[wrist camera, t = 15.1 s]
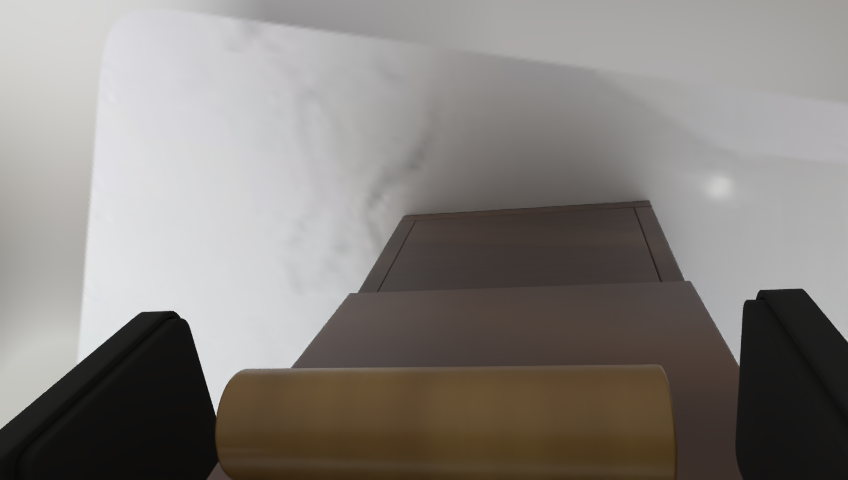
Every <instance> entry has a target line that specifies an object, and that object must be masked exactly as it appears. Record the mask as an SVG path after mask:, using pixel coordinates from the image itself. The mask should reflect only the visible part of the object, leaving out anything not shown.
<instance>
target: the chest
mask: <svg viewBox="0 0 848 480" xmlns="http://www.w3.org/2000/svg"><path fill="white" fill-rule="evenodd" d="M675 281H685V280H684V278H683V276H682V273H681V271H680V269H679V267H678V264H677V262H676V260H675V258H674V255H673V253H672V251H671V249H670V247H669V244H668V242H667V240H666V238H665V235H664V233H663V231H662V229H661V226H660V224H659V222H658V220H657V217H656V215H655V213H654V211H653V208H652V205H651V203H650V201H637V202H621V203H605V204H589V205H573V206H556V207H540V208H524V209H508V210H492V211H476V212H460V213H444V214H428V215H412V216H403V218H402V219H401V221H400V223H399V224H398V226H397V228H396V229H395V231H394V233H393V234H392V236H391V238H390V239H389V241H388V243H387V245H386V246H385V248H384V250H383V251H382V253H381V255H380V256H379V258H378V260H377V261H376V263H375V265H374V266H373V268H372V270H371V271H370V273H369V275H368V276H367V278H366V280H365V281H364V283H363V285H362V286H361V288H360V290H359V292H358V293H375V292H402V291H429V290H457V289H484V288H511V287H539V286H566V285H593V284H621V283H648V282H675Z"/></svg>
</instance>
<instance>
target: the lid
mask: <svg viewBox="0 0 848 480" xmlns="http://www.w3.org/2000/svg"><path fill="white" fill-rule="evenodd" d="M739 370H740V367H739V365H738V363H737V362H736V360H735V358H734V356H733V355H732V353H731V351H730V349H729V348H728V346H727V344H726V342H725V341H724V339H723V337H722V335H721V334H720V332H719V330H718V328H717V327H716V325H715V323H714V321H713V320H712V318H711V316H710V314H709V313H708V311H707V309H706V307H705V306H704V304H703V302H702V300H701V299H700V297H699V295H698V293H697V292H696V290H695V288H694V286H693V285H692V283H691V281H675V282H648V283H621V284H593V285H566V286H539V287H511V288H484V289H457V290H429V291H402V292H375V293H350V294H349V295H348V296H347V298H346V299H345V300H344V301H343V303H342V304H341V305H340V306H339V308H338V309H337V310H336V312H335V313H334V314H333V315H332V317H331V318H330V319H329V320H328V322H327V323H326V324H325V325H324V327H323V328H322V329H321V331H320V332H319V333H318V334H317V336H316V337H315V338H314V339H313V341H312V342H311V343H310V345H309V346H308V347H307V348H306V350H305V351H304V352H303V353H302V355H301V356H300V357H299V358H298V360H297V361H296V362H295V364H294V365H293V366H292V367H291V368H284V369H244V370H242V371H240V372H238V373H236V374H235V375H234V376H233V377H232V378H231V379H230V381H229V382H228V384H227V385H226V387H225V389H224V391H223V394H222V397H221V400H220V403H219V407H218V411H217V417H216V425H215V444H216V451H217V456H218V460H219V462H218V463H217V465H216V466H215V468H214V469H213V471H212V472H211V474H210V475H209V477H208V478H207V480H743V478H742V476H741V473H740V471H739V468H738V464H737V459H736V451H735V439H736V422H737V404H738V387H739Z"/></svg>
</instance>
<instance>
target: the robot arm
mask: <svg viewBox="0 0 848 480" xmlns="http://www.w3.org/2000/svg"><path fill="white" fill-rule="evenodd" d="M215 425H216V415H215V411H214V408H213V405H212V401H211V398H210V394H209V391H208V388H207V384H206V381H205V377H204V374H203V371H202V367H201V364H200V361H199V357H198V354H197V350H196V347H195V344H194V340H193V337H192V333H191V330H190V327H189V324H188V323H187V321H186V320H184V319H183V318H180V316H179V315H178V314H177V313H176V312H174V311H157V312H141V313H140V314H138V315H137V316H135V317H134V318H133V319H132V320H131V321H129V322H128V323H127V324H126V325H125V326H123V327H122V328H121V329H120V330H119V331H118V332H116V333H115V334H114V335H113V336H112V337H110V338H109V339H108V340H107V341H106V342H104V343H103V344H102V345H101V346H100V347H98V348H97V349H96V350H95V351H94V352H92V353H91V354H90V355H89V356H88V357H86V358H85V359H84V360H83V361H82V362H80V363H79V364H78V365H77V366H76V367H74V368H73V369H72V370H71V371H70V372H69V373H67V374H66V375H65V376H64V377H63V378H61V379H60V380H59V381H58V382H57V383H55V384H54V385H53V386H52V387H51V388H49V389H48V390H47V391H46V392H45V393H43V394H42V395H41V396H40V397H39V398H37V399H36V400H35V401H34V402H33V403H31V404H30V405H29V406H28V407H27V408H25V409H24V410H23V411H22V412H21V413H20V414H19V415H17V416H16V417H15V418H14V419H12V420H11V421H10V422H9V423H8V424H6V425H5V426H4V427H3V428H2V429H0V480H207V478H208V477H209V475H210V474H211V472H212V471H213V469H214V468H215V466H216V465H217V463H218V462H219V460H218V456H217V451H216V444H215ZM735 451H736V459H737V464H738V468H739V471H740V473H741V476H742V478H743V480H848V342H847V341H846V340H845V339H844V337H843V336H842V335H841V334H840V332H839V331H838V330H837V329H836V328H835V326H834V325H833V324H832V323H831V322H830V320H829V319H828V318H827V317H826V316H825V314H824V313H823V312H822V311H821V309H820V308H819V307H818V306H817V305H816V303H815V302H814V301H813V300H812V299H811V297H810V296H809V295H808V294H807V293H806V291H804V290H803V289H778V290H760V291H759V292H758V294H757V297H756V300H746V301H745V303H744V306H743V318H742V336H741V353H740V370H739V387H738V404H737V422H736V439H735Z"/></svg>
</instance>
